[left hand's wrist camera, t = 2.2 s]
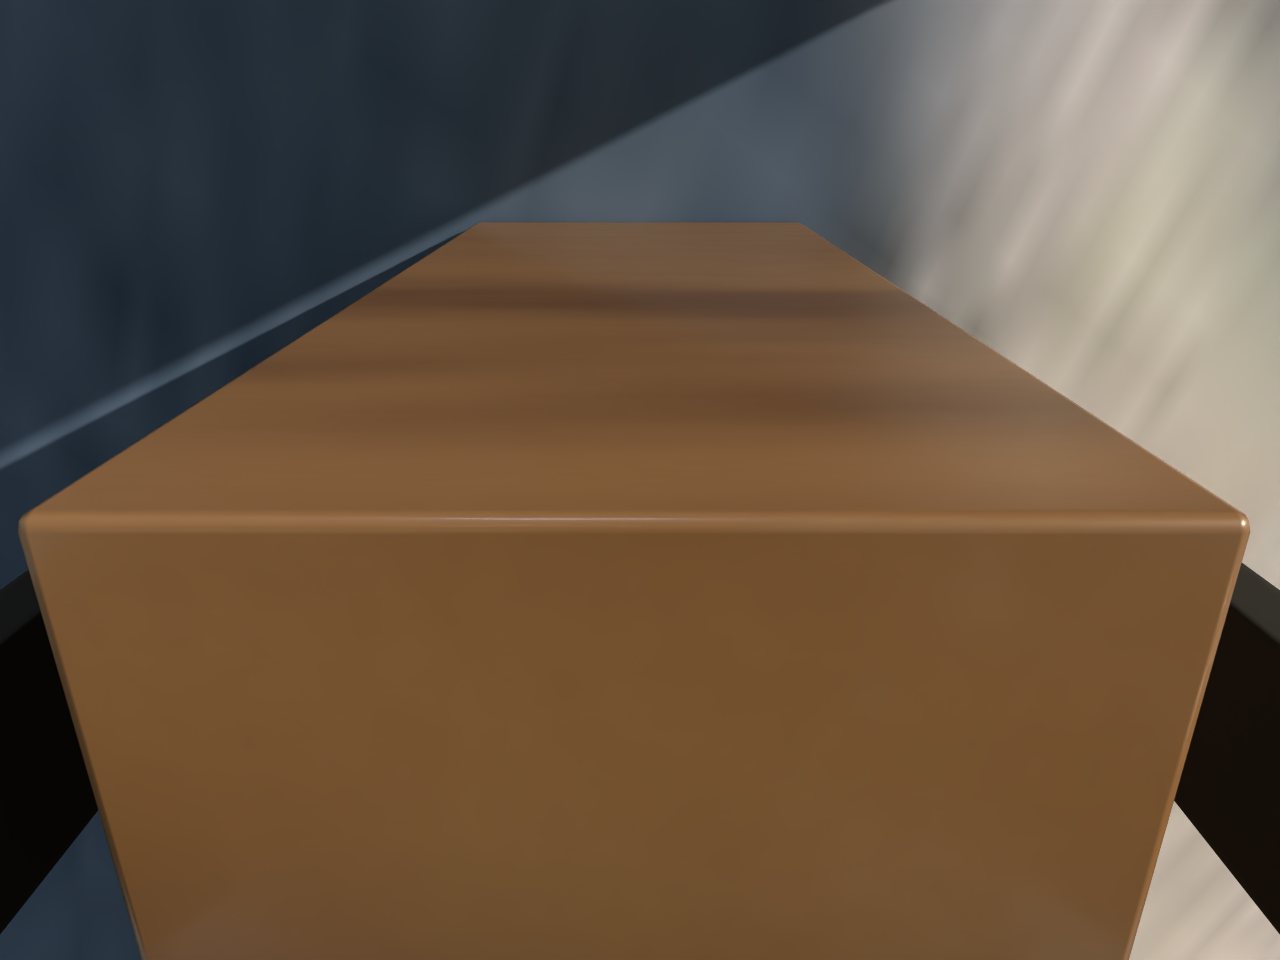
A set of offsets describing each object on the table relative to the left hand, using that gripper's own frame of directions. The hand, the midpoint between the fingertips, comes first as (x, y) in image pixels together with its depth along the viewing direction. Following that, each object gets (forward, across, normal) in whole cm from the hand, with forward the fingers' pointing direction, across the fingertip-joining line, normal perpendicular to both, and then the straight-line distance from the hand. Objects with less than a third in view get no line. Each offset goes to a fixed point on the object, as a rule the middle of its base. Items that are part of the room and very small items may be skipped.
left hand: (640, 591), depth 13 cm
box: (+6, 0, -7) cm, 9 cm away
